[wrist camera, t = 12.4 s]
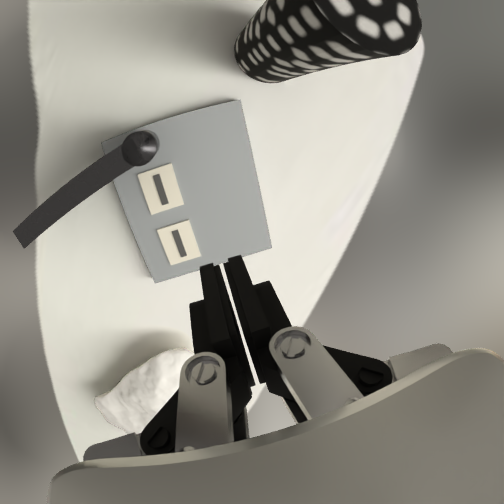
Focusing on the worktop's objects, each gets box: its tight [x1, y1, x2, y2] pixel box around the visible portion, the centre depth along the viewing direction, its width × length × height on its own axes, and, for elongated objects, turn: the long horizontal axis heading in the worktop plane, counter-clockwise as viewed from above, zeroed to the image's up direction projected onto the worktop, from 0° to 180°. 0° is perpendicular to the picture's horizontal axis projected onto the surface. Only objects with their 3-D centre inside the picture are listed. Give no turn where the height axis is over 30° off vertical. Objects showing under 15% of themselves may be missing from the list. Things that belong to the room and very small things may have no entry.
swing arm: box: [13, 130, 160, 248], centre depth 23 cm, size 19×3×4 cm, turn 114°
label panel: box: [101, 100, 272, 283], centre depth 31 cm, size 19×16×3 cm
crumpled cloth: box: [94, 348, 194, 434], centre depth 43 cm, size 24×35×9 cm
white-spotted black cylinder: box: [234, 0, 422, 83], centre depth 18 cm, size 8×8×20 cm
